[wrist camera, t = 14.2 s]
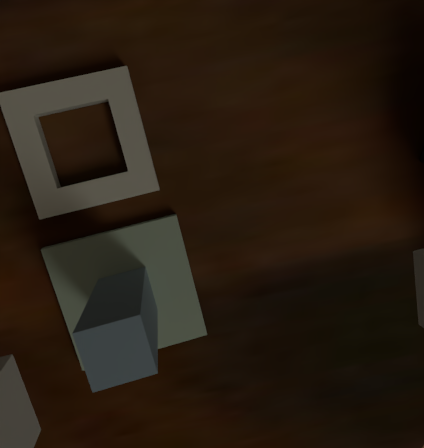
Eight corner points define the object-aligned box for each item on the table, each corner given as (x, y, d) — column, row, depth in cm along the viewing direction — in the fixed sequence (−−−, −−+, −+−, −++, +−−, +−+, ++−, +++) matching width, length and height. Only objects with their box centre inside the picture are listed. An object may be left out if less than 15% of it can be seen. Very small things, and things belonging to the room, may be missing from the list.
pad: (43, 247, 38) (40, 249, 37) (175, 213, 39) (176, 215, 38) (84, 365, 41) (82, 370, 40) (206, 330, 42) (207, 334, 41)
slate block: (98, 279, 38) (72, 333, 27) (145, 266, 39) (140, 314, 27) (112, 322, 39) (92, 392, 28) (157, 309, 40) (157, 373, 28)
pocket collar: (2, 96, 35) (-4, 93, 33) (128, 69, 36) (126, 65, 34) (43, 217, 37) (39, 219, 36) (159, 188, 38) (159, 189, 37)
